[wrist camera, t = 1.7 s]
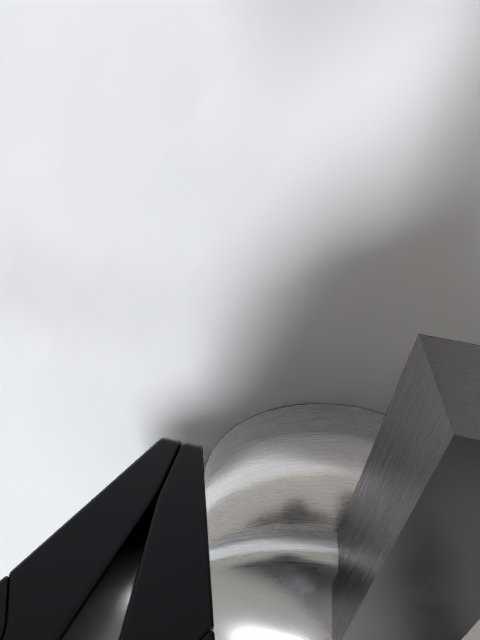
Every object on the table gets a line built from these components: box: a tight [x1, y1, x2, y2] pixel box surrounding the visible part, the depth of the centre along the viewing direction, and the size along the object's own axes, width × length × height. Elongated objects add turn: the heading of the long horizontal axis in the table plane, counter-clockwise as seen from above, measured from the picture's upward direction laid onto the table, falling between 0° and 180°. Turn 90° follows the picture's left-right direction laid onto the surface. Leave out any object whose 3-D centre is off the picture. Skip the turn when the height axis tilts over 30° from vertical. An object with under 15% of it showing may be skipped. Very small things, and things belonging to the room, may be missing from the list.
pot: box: [204, 404, 385, 542], centre depth 16 cm, size 20×11×5 cm, turn 114°
